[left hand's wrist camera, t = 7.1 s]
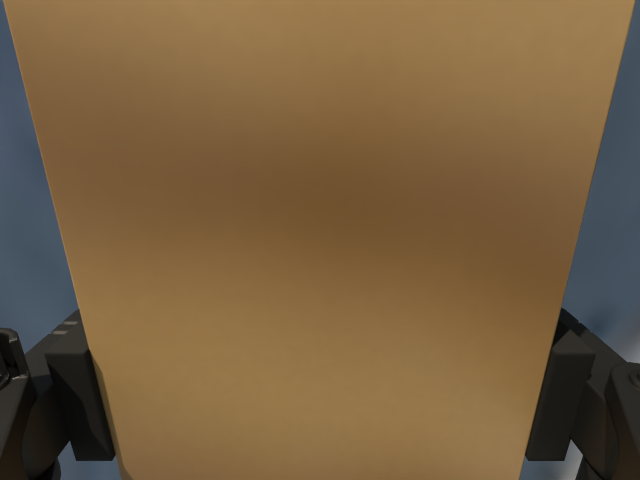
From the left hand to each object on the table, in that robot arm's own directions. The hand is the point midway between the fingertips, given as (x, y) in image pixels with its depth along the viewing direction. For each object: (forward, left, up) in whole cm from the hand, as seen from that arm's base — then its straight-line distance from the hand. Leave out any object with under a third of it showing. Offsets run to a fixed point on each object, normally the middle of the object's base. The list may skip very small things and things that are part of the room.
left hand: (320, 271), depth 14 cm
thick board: (+17, +8, -1) cm, 19 cm away
